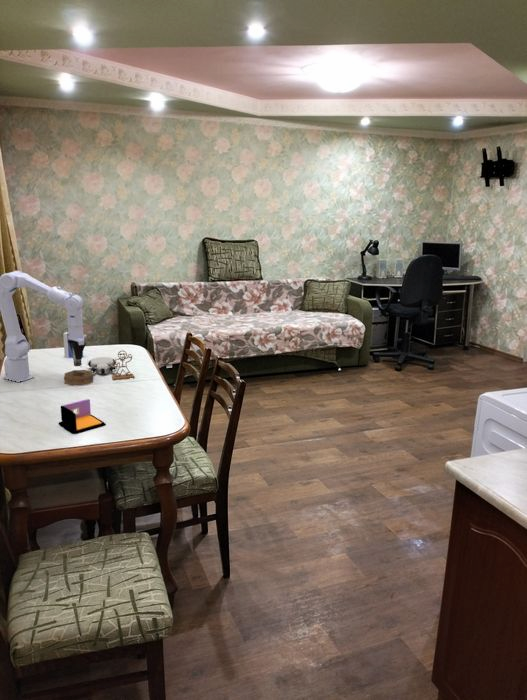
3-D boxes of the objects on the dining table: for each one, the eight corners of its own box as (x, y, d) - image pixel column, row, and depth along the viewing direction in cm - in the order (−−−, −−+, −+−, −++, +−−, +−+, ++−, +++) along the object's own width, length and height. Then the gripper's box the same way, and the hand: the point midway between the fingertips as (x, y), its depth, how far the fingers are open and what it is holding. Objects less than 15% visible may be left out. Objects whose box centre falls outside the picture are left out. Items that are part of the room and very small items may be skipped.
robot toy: (118, 377, 233) (116, 364, 247) (117, 367, 232) (115, 355, 245) (88, 379, 230) (87, 366, 243) (87, 369, 228) (87, 356, 241)
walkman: (83, 356, 258) (81, 332, 254) (80, 358, 255) (79, 333, 252) (67, 355, 258) (65, 331, 255) (64, 357, 256) (62, 332, 252)
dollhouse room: (57, 424, 183) (55, 405, 181) (90, 415, 191) (89, 397, 189) (73, 435, 174) (71, 416, 173) (107, 426, 183) (106, 406, 181)
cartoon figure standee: (113, 380, 226) (111, 352, 223) (111, 377, 230) (110, 350, 227) (134, 378, 230) (133, 351, 226) (133, 375, 233) (132, 348, 230)
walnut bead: (58, 382, 222) (58, 375, 221) (79, 375, 231) (79, 368, 231) (78, 387, 217) (77, 380, 216) (98, 379, 226) (98, 372, 226)
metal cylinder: (72, 365, 222) (70, 346, 219) (77, 363, 224) (76, 345, 222) (77, 366, 220) (76, 347, 218) (83, 364, 223) (81, 346, 221)
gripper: (91, 328, 214) (92, 361, 218) (80, 321, 226) (82, 352, 229) (72, 330, 210) (75, 363, 214) (62, 322, 222) (65, 354, 226)
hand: (77, 358), depth 222 cm, fingers closed on metal cylinder, 3 cm apart
